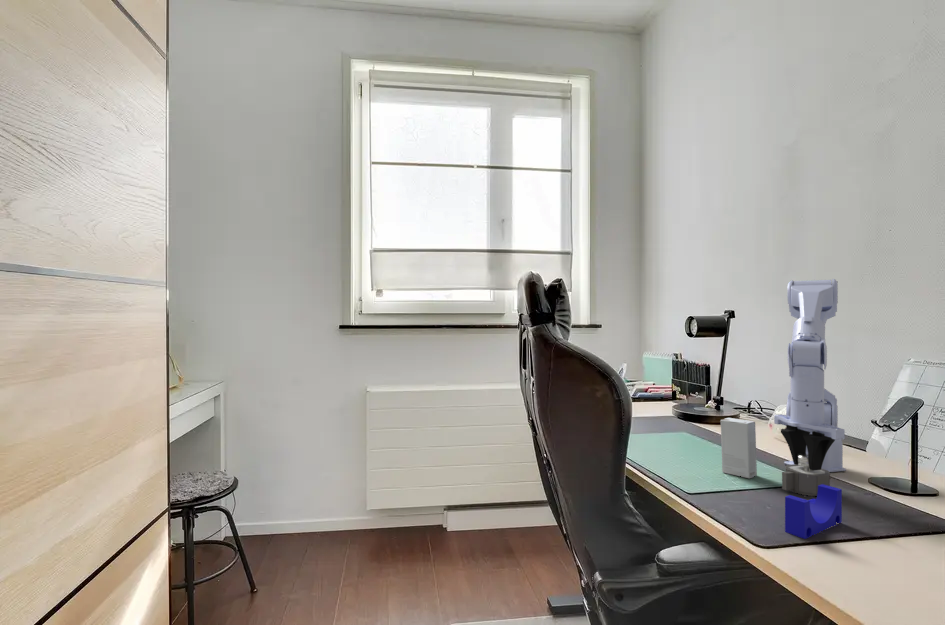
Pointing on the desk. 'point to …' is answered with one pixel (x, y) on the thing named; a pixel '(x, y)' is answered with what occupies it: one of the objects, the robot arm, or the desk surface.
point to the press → (804, 480)
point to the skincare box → (738, 447)
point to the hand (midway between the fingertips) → (807, 466)
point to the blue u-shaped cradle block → (813, 512)
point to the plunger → (803, 461)
